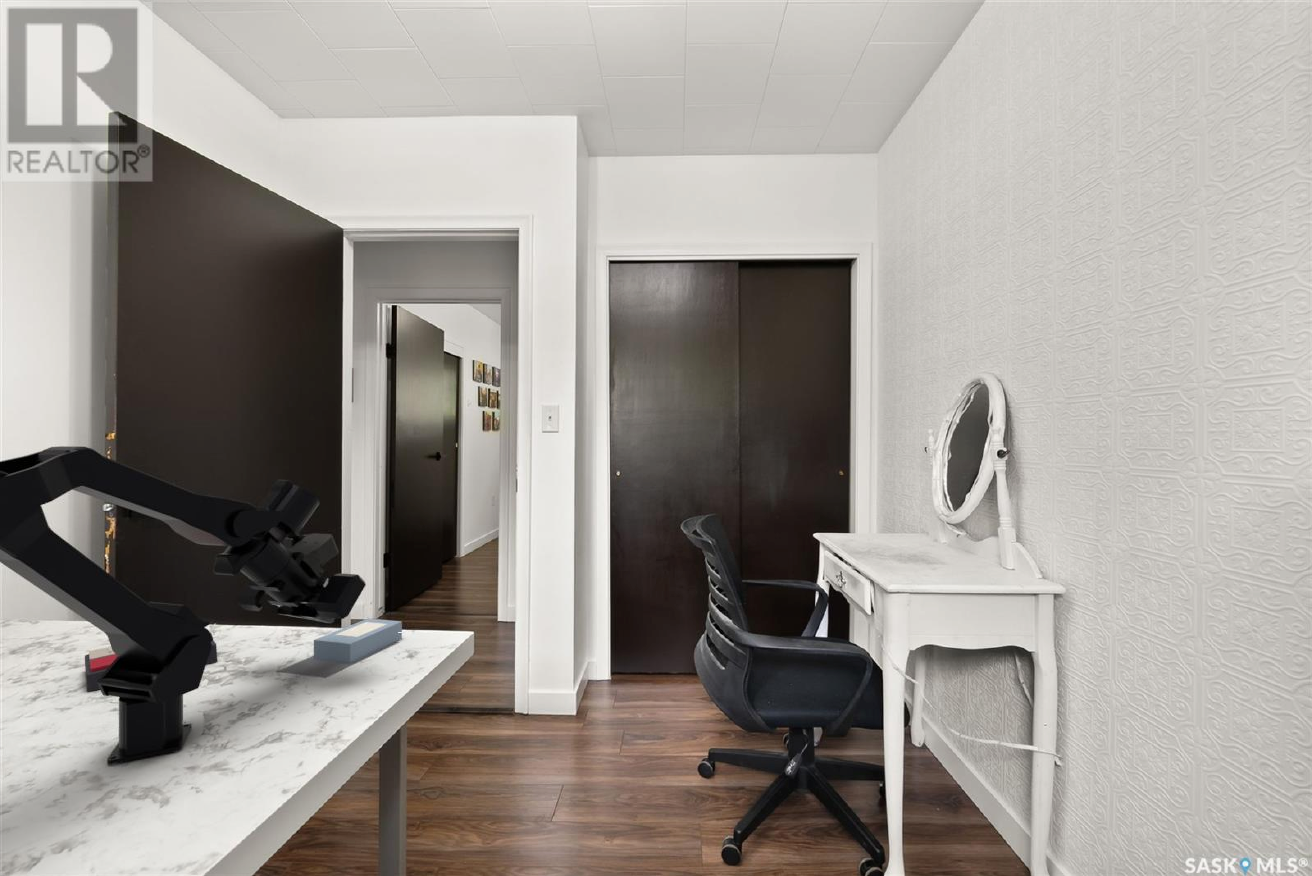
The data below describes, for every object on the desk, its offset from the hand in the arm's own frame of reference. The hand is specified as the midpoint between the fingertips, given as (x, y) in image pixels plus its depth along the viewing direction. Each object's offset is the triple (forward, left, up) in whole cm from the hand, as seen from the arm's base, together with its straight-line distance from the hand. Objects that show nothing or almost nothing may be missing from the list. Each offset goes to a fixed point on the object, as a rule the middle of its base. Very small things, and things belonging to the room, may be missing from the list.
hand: (332, 620), depth 96 cm
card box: (0, 0, -5) cm, 5 cm away
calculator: (+11, +24, -7) cm, 28 cm away
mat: (+2, -1, -7) cm, 7 cm away
